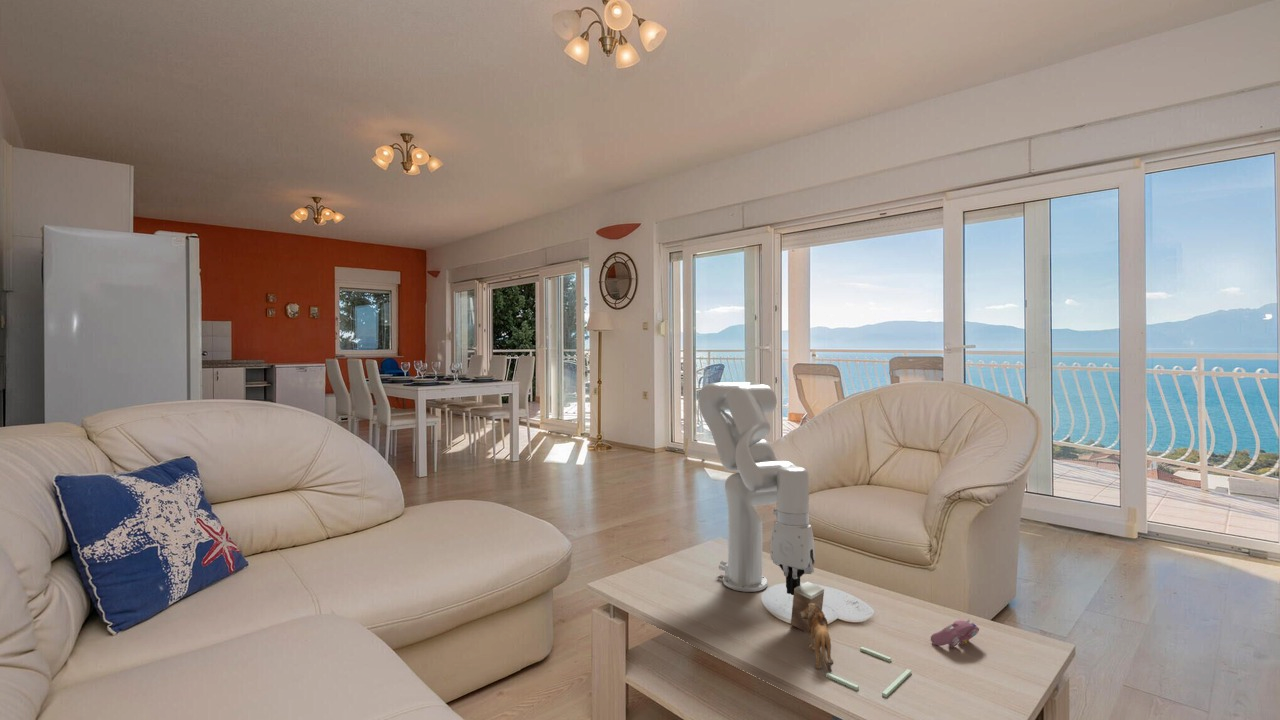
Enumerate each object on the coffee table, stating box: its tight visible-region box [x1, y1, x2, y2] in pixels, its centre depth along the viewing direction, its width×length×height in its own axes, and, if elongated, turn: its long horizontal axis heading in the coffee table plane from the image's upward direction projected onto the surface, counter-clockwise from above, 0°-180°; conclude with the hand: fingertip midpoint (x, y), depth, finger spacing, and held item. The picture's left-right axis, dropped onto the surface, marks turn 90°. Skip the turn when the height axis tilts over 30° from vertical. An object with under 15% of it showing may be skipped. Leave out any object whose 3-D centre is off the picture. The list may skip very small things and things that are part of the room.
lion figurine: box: [800, 603, 834, 673], centre depth 125 cm, size 15×5×9 cm, turn 0°
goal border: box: [825, 646, 912, 698], centre depth 118 cm, size 11×16×1 cm
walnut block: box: [790, 581, 825, 633], centre depth 139 cm, size 4×6×9 cm
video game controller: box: [930, 619, 980, 649], centre depth 130 cm, size 10×5×7 cm, turn 114°
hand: (793, 592), depth 141 cm, fingers closed
